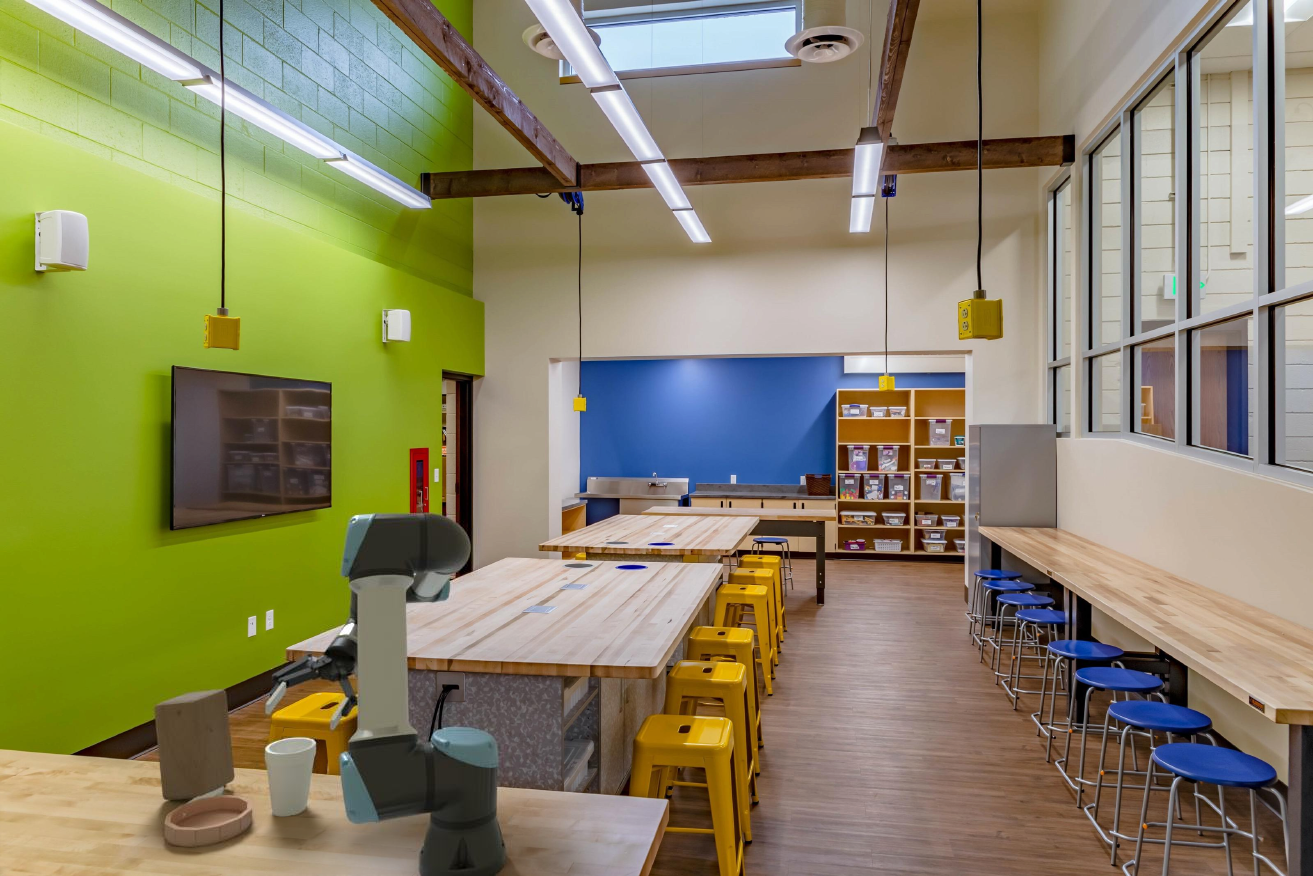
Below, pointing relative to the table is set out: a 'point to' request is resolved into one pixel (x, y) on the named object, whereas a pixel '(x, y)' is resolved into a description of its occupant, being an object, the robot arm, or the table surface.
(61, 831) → the table surface
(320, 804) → the table surface
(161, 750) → the wooden block
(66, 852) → the table surface
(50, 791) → the table surface
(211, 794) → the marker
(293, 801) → the foam cup
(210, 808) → the bowl
